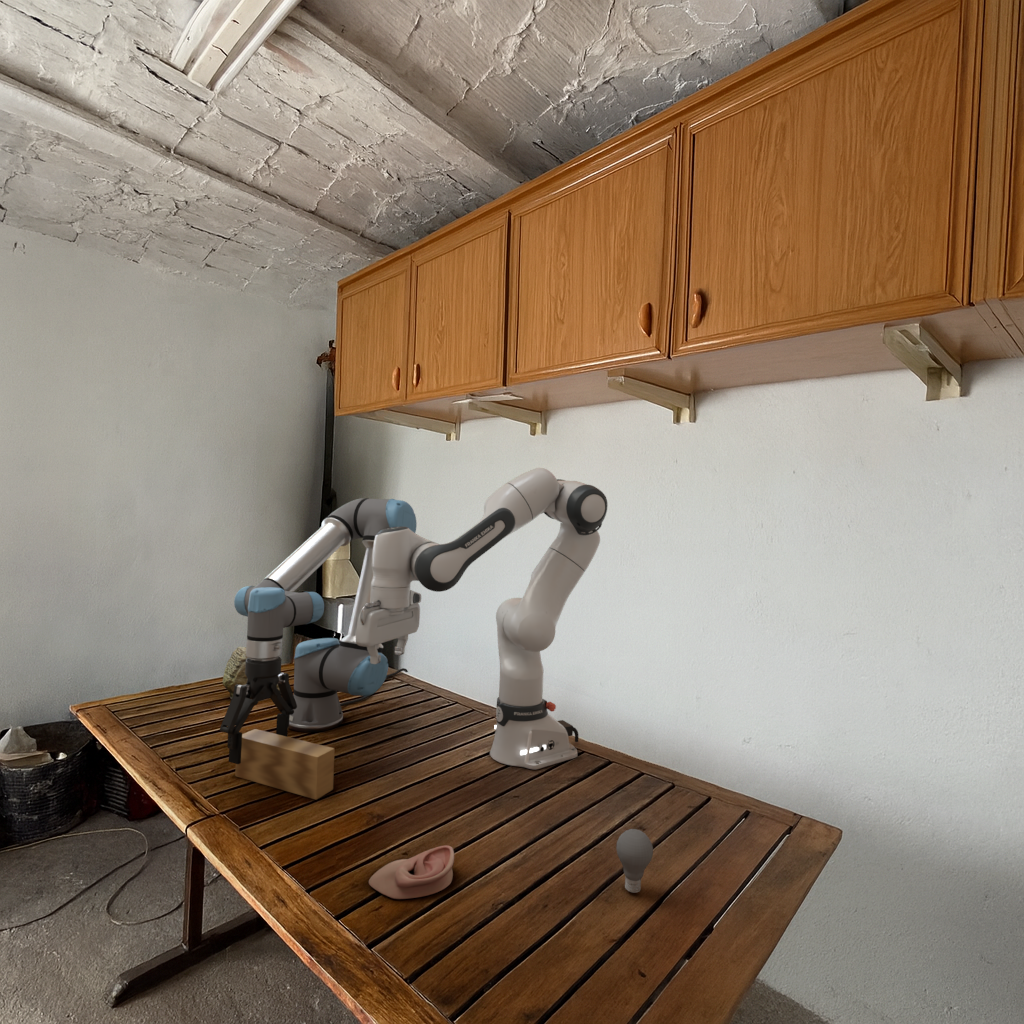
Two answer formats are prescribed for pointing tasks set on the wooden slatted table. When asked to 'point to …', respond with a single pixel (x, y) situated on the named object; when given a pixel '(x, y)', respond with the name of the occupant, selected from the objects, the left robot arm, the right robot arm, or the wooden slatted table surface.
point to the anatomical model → (416, 874)
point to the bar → (286, 763)
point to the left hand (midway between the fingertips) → (258, 752)
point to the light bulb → (634, 857)
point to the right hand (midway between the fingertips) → (387, 658)
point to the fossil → (236, 670)
